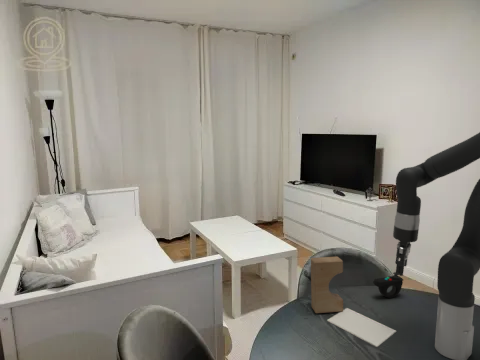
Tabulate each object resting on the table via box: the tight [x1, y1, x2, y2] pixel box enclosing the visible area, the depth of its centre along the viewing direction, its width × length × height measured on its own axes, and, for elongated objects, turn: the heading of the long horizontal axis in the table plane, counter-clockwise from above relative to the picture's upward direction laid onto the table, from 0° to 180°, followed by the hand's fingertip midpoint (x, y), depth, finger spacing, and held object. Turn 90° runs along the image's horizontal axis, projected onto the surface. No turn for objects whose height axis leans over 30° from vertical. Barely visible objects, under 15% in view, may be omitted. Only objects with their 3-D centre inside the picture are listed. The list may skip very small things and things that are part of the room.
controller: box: [372, 271, 404, 299], centre depth 140 cm, size 4×12×10 cm, turn 102°
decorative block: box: [310, 256, 344, 314], centre depth 131 cm, size 11×6×20 cm, turn 93°
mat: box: [326, 307, 397, 348], centre depth 121 cm, size 20×12×1 cm, turn 39°
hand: (401, 270), depth 118 cm, fingers open, 8 cm apart
